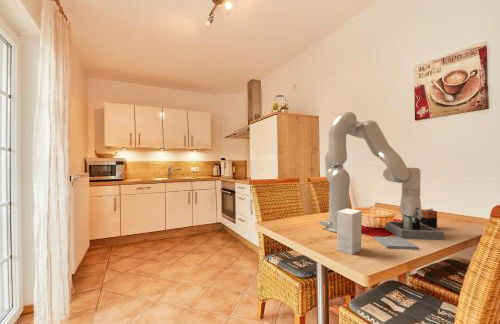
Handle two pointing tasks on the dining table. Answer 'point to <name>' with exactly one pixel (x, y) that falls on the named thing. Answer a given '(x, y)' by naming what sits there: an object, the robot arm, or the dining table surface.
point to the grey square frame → (414, 231)
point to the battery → (429, 218)
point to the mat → (396, 243)
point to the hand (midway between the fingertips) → (410, 228)
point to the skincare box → (349, 230)
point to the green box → (407, 223)
